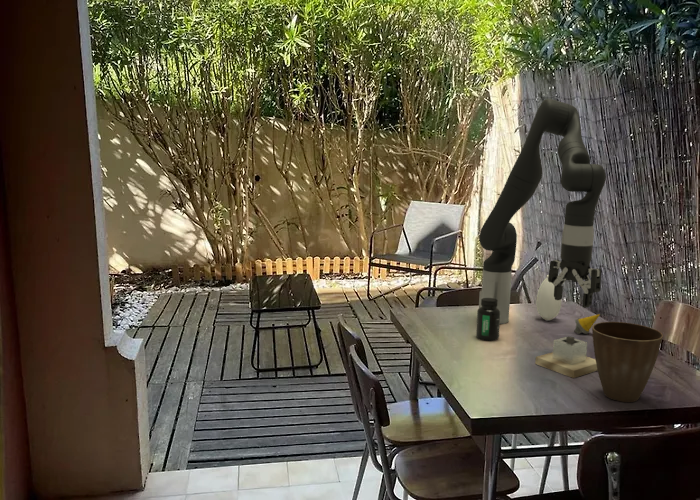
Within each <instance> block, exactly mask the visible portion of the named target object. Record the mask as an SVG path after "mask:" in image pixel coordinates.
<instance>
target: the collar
mask: <svg viewBox="0 0 700 500" xmlns="http://www.w3.org/2000/svg"><path fill="white" fill-rule="evenodd" d="M566 337H567V336H565V337H561V338H558V339H553V346H552V352H553V357H552V358H553V359H556V360H559V361H562V362H565V363H568V364H570V365H573V364H576V363H580V362H583V361H586V356H587V353H588V352H587V350H588V342H587V341H584V340H582V339H577V338H575V339H574V344H570V343H567V342H566Z"/></svg>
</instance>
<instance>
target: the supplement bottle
mask: <svg viewBox="0 0 700 500" xmlns="http://www.w3.org/2000/svg"><path fill="white" fill-rule="evenodd" d="M497 302H498V301H497V299H494V298H482V299H481V306H482V307H480V308H479V307H478V309H477V310H476V329H475V330H476V331H475V333H476V334H475V335H476V338H477V339H479V340H481V341H484V342H485V341H487V342H492V341H493V342H495V341H497V340H498V339H500V330H501V329H500V327H501V325H500V310H499V309H498V308H497V306H498V304H497Z"/></svg>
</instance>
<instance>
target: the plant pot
mask: <svg viewBox="0 0 700 500" xmlns="http://www.w3.org/2000/svg"><path fill="white" fill-rule="evenodd" d="M591 328H592V343H593V352H594V357H595V358H594V359H596V364H597V369H598V371H597V373H598V374H597V375H598V377H599V381H600V384H601V387H602V390H603V394H604V396H605V397H607V398H608V399H611V400H614V401H616V402H621V403H622V402H623V403H633V402H637V401H638V400H639V399H640V398H641V396H642V393H643V392H644V391H645V390H644V389H645V388H646V386H647V384H648V382H649V379H650V378H651V376H652V372H653V370H654V368H655V365H656V362H657V359H658V356H659V352H660V350H661V349H660V348H661V345H662V340H663V338H664V335H663V333H662V332H661V331H659V330H658V329H656V328H653V327H650V326H645V325H642V324H637V323H633V322H632V323H631V322H624V321H623V322H622V321H602V322H597V323H593V325H592V327H591Z"/></svg>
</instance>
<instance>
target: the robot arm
mask: <svg viewBox="0 0 700 500" xmlns="http://www.w3.org/2000/svg"><path fill="white" fill-rule="evenodd" d="M545 133H549V134H551V135H555V136H560V137H561V136H562V137H563V138H561V140H560V141H559V143H558V146H557V155H558V158H559V160H560V164H561V175H560V184H561V187H562V188H563V189H564V190H565V191H567V192H570V193H571V192H575V193H576V192H577V193H582V192H583V193H585V195H584V196H583V197H582V198H581V199H577V200H572V201H569V202H567V203H566V205H565V211H564V224H563V230H562V234H561V235H562V236H561V246H560V247H561V248H560V259H561V260H559V259H553V260H550V262H549V270H548V275H549V276H548V281H549V282H551V283H553V284H554V297H555V300H561V301H562V300H563V291H564V284H565V282H566V281H572V282H574V283H578V286H580V287H581V289H582V290H583V294H582V295H583V296H582V308H585V309H586V308H590V306H592V303H593V294H594V293H600V292H601V290H602V287H601V286H602V285H601V284H602V269H601V268H592V267H591V261H592V257H593V246H594V245H593V244H594V237H595V236H594V234H595V232H594V223H595V215H596V214H595V213H596V207H597V204H598V202H599V198H600V195H601V194H602V191H603V188H604V186H605V183H606V179H607V175H606V174H607V173H606V170H605V168H604V167H603V166H602V165H601V164H597V163H591V157H590V155H589V152H588V150H587V148H586V145H585V143H584V141H583V140H584V139H583V135H582V126H581V120H580V115H579V112H578V109H577V108H576V107H575V105H572V104H569V103H566V102H563V101H559V100H556V99H553V98H552V99H551V98H546V99H544V100H543V101H541V104H540V105H539V106H538V109H537V111H536V112H535V115H534V117H533V120H532V122H531V125H530V128H529V131H528V134H527V136H526V139H525V141H524V144H523V146H522V148H521V150H520V152H519V155H518V157H517V159H516V160H515V163H514V164H513V166H512V169H511V171H509V172H510V173H509V174H508V177H507V179H506V181H505V184H504V187H503V189H502V190H501V193H500V194H499V197H498V199H497V201H496V203H495V204H494V207H493V209H491V212H490V213H489V215H488V217H486V220H485V221H484V223H483V225H482V226H481V229H480V232H479V235H478V236H479V237H478V238H479V244H480V246H481V247H482V248H483V249H484V250H486V251H490V252H491V251H492V253H491V254H490V255H489V256H488V257H487V258H485V259H484V261H483V263H482V279H481V280H482V281H481V282H482V286H481V290H479V297H478V298H479V300H478V309H479V308H480V307H482V306H481V299H482V298H494V299H497V301H498V302H497V304H498V306H497V308H498V309H499V310H500V324H502V325H503V324H506V323H508V322H509V320H510V304H511V286H512V285H511V284H512V272H513V271H512V269H513V265H514V264H515V259H516V253H517V252H516V251H517V242H518V241H517V239H518V236H517V235H518V234H517V229H516V227H515V226H514V224H513V223H511V220H512V219H513V217H514V216H515V215H516V214H517V212H519V211H520V210H521V208H523V207H524V206H525V205H526V204H527V203H528V202H529V201H530V199H531V198H533V196H534V194H535V192H536V190H537V188H538V186H539V184H540V182H541V181H542V177H543V165H542V158H541V150H540V149H541V148H540V146H541V141H542V139H543V135H544V134H545ZM559 270H560V271H561V272H560V273H559Z"/></svg>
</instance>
